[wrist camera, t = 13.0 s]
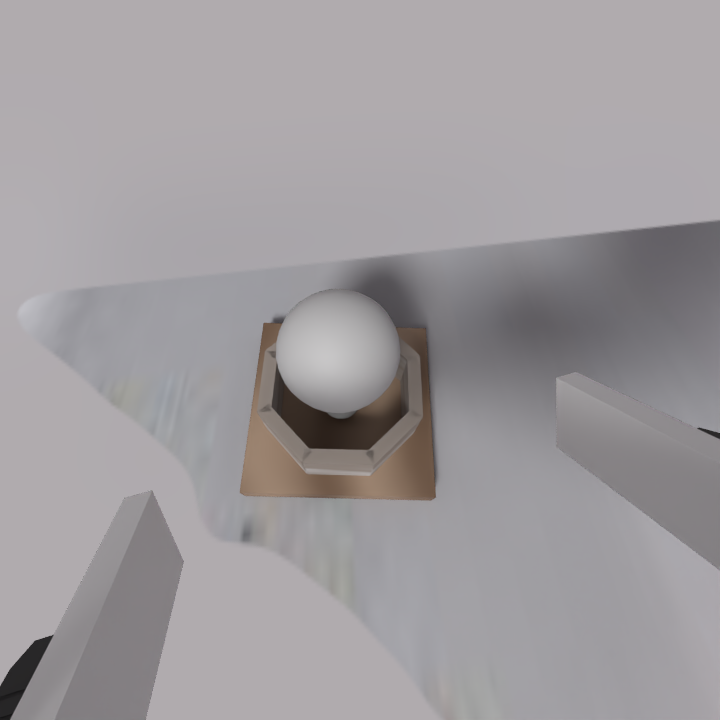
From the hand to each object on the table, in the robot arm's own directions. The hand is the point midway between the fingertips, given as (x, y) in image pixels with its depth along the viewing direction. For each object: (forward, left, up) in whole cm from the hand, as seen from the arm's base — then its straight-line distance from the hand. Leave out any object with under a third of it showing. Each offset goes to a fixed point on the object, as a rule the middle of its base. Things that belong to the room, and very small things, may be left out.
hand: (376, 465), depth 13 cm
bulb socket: (+1, -7, -14) cm, 16 cm away
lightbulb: (+1, -6, -13) cm, 15 cm away
